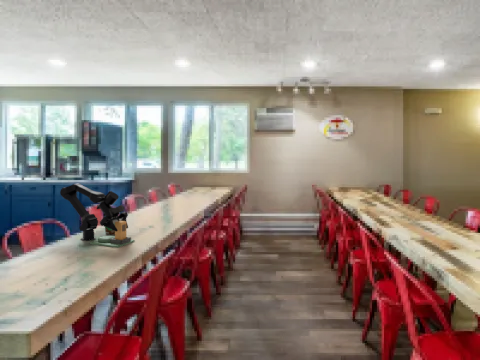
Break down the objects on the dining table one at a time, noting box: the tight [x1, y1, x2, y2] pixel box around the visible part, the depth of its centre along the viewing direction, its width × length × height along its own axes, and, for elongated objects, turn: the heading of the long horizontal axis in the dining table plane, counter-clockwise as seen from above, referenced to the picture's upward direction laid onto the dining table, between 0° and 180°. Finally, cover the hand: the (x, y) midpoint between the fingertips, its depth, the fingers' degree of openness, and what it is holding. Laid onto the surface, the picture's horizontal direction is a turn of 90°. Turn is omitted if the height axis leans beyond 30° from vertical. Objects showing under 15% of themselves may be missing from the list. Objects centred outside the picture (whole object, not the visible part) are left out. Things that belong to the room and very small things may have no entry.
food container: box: [104, 220, 118, 236], centre depth 216 cm, size 12×6×10 cm, turn 143°
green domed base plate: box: [89, 235, 135, 248], centre depth 193 cm, size 20×15×4 cm
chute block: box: [114, 220, 127, 240], centre depth 191 cm, size 5×5×12 cm
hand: (122, 229), depth 190 cm, fingers open, 9 cm apart
